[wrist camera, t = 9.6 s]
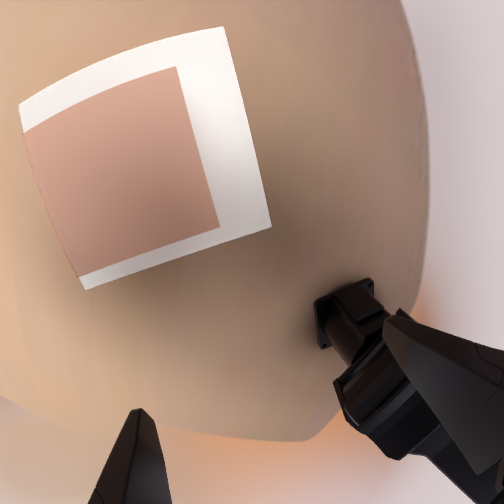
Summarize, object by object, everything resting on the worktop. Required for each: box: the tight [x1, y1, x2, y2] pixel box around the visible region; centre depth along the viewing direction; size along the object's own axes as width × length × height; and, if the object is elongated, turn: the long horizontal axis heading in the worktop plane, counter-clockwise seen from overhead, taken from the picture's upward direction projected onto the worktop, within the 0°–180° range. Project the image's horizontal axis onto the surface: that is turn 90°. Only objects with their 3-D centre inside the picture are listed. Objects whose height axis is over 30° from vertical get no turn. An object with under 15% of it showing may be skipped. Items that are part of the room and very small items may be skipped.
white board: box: [18, 27, 272, 290], centre depth 16 cm, size 14×14×2 cm
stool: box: [22, 66, 220, 278], centre depth 12 cm, size 6×6×7 cm
